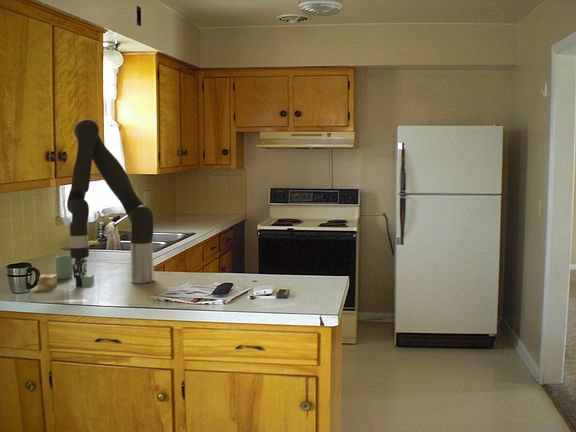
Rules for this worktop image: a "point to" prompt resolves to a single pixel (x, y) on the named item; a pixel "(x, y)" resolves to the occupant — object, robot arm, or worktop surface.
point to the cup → (64, 267)
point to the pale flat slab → (59, 287)
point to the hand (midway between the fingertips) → (80, 285)
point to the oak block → (47, 281)
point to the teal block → (88, 280)
